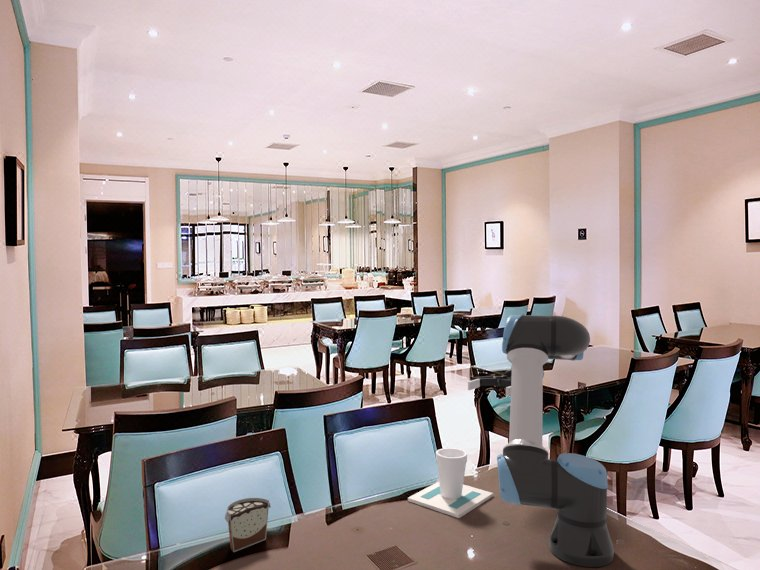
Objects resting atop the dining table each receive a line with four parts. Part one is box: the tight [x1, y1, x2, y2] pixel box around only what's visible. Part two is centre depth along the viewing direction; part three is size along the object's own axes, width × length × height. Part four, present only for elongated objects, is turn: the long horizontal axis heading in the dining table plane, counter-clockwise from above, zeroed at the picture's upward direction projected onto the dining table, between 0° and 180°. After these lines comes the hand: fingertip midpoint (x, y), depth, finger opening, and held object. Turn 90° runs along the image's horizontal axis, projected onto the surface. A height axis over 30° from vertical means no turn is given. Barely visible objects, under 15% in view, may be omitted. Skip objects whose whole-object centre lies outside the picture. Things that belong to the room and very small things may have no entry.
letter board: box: [407, 481, 494, 519], centre depth 171 cm, size 18×20×1 cm
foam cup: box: [435, 447, 468, 499], centre depth 171 cm, size 10×9×13 cm
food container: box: [224, 497, 272, 553], centre depth 143 cm, size 12×6×10 cm, turn 134°
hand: (487, 388), depth 178 cm, fingers open, 13 cm apart
